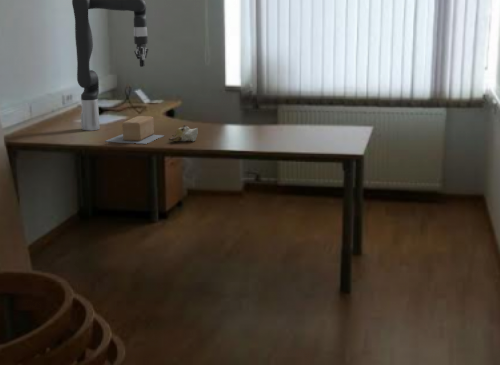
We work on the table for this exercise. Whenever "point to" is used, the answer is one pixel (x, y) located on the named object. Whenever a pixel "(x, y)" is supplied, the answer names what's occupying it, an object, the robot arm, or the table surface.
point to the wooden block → (138, 128)
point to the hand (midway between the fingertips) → (142, 66)
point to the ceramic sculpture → (185, 134)
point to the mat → (144, 141)
